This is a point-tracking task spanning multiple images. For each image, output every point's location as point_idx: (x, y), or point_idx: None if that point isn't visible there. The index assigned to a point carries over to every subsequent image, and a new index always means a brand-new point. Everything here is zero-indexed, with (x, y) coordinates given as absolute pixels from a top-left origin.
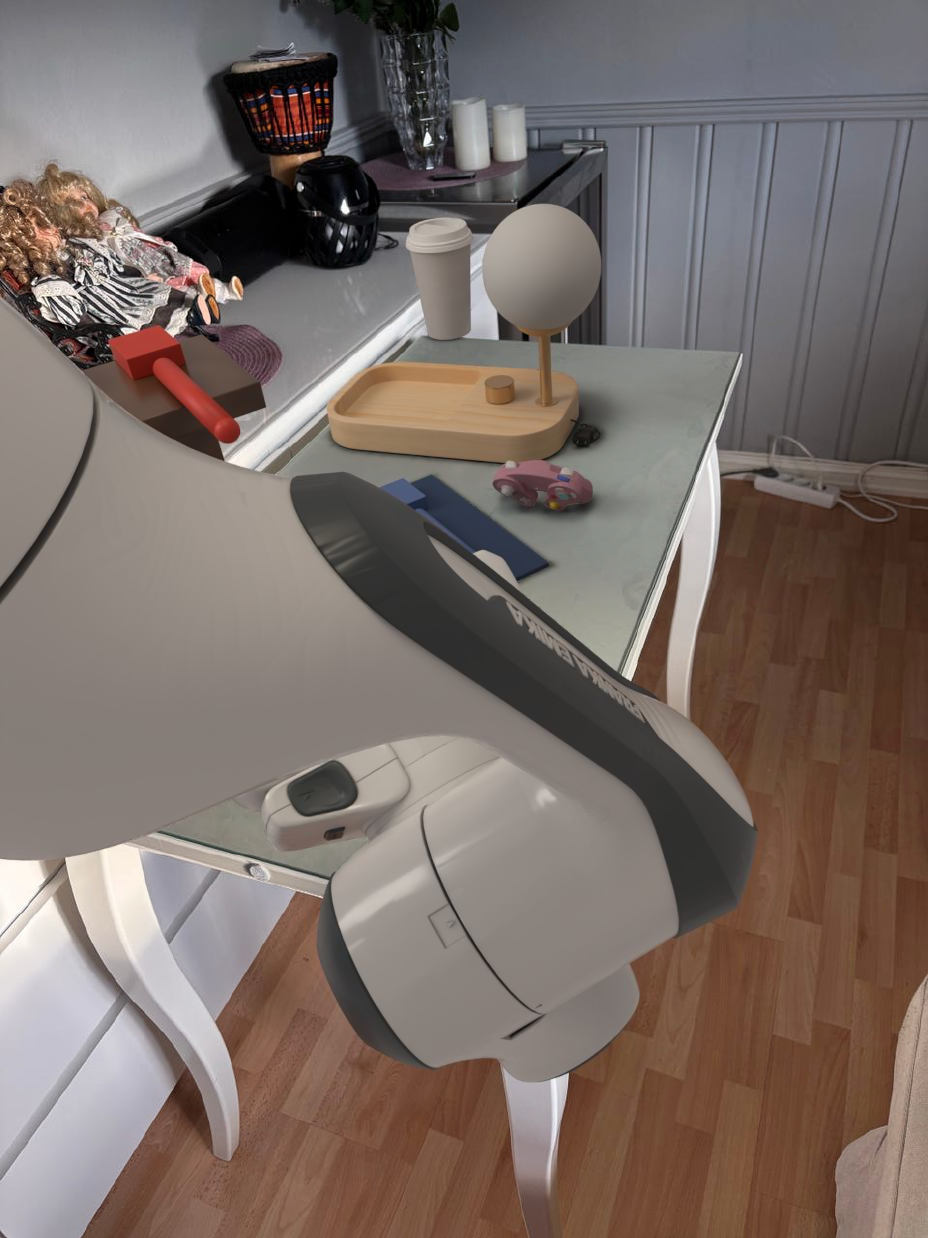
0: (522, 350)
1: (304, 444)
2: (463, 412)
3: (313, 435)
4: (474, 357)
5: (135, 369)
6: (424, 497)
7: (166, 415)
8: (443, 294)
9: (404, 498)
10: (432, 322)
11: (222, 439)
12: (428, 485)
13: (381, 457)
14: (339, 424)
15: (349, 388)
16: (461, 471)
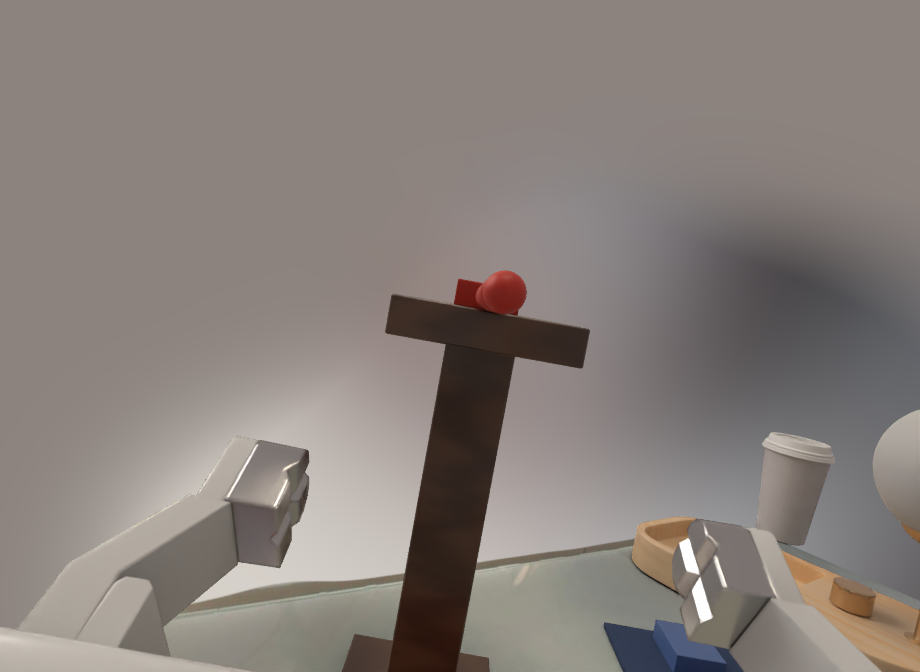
0: (867, 584)
1: (601, 549)
2: None
3: (613, 547)
4: None
5: (461, 294)
6: (723, 664)
7: (453, 308)
8: (787, 497)
9: (695, 650)
10: (766, 518)
11: (489, 295)
12: (729, 655)
13: (677, 598)
14: (645, 544)
15: (667, 523)
16: None
